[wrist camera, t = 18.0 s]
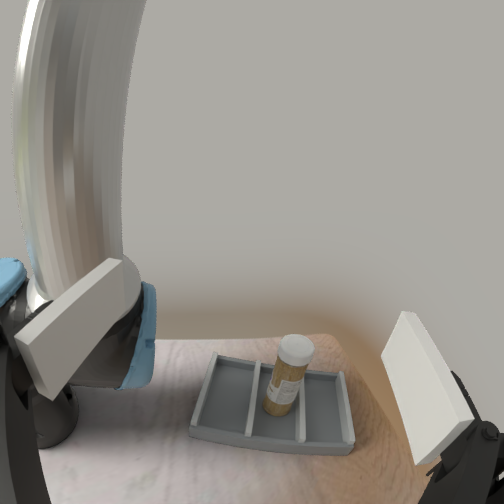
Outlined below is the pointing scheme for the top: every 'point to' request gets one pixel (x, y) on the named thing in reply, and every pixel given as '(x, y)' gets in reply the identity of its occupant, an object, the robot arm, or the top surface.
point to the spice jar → (288, 373)
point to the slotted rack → (268, 426)
